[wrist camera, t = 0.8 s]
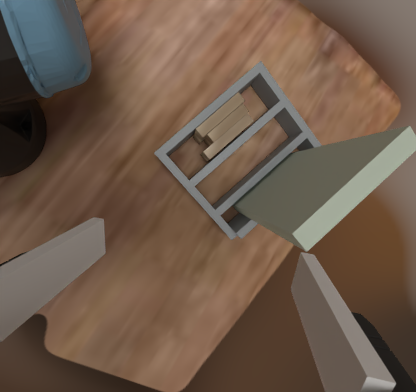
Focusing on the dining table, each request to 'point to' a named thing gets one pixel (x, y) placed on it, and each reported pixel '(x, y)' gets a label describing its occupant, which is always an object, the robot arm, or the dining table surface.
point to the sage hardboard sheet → (323, 184)
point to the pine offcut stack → (223, 126)
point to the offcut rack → (277, 108)
